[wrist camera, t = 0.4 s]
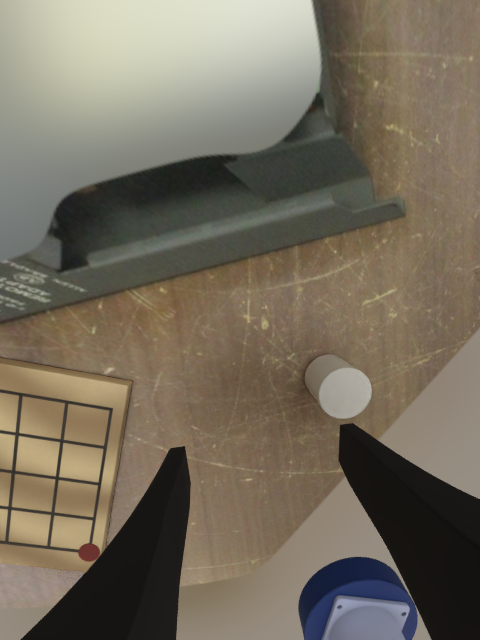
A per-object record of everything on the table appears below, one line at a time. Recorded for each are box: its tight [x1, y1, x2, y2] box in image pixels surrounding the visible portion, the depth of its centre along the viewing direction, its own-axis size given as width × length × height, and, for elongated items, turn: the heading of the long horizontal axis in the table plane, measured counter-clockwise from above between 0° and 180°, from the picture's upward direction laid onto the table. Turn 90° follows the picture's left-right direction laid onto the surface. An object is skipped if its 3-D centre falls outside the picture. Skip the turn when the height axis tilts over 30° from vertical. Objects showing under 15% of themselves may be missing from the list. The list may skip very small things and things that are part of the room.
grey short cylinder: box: [305, 354, 372, 419], centre depth 21 cm, size 4×4×3 cm
